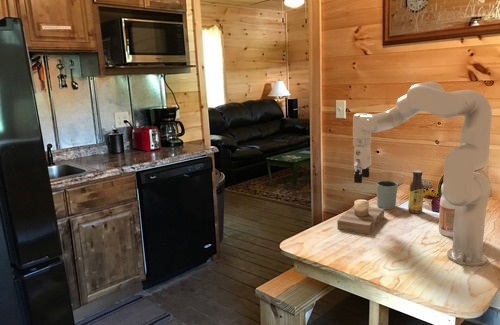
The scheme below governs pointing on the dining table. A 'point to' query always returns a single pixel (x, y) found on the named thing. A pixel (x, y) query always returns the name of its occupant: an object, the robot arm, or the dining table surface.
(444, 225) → the fruit juice
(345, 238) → the dining table surface
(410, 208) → the sauce bottle
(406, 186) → the dining table surface
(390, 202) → the grey green cup
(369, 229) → the walnut slab
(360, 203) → the wooden peg
